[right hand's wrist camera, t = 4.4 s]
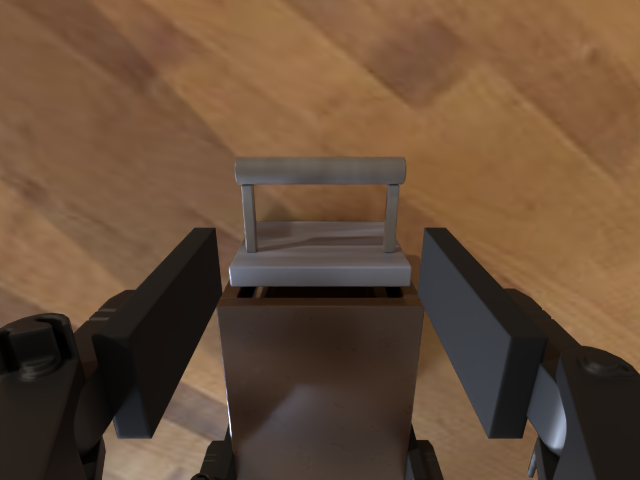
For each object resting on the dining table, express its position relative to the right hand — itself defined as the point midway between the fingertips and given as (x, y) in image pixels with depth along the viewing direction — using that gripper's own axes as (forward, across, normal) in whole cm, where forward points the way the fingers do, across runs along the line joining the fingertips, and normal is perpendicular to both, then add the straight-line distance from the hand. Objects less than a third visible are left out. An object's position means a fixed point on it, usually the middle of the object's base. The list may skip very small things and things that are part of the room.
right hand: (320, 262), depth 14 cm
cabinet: (+14, 0, +13) cm, 19 cm away
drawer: (+13, 0, +8) cm, 15 cm away
